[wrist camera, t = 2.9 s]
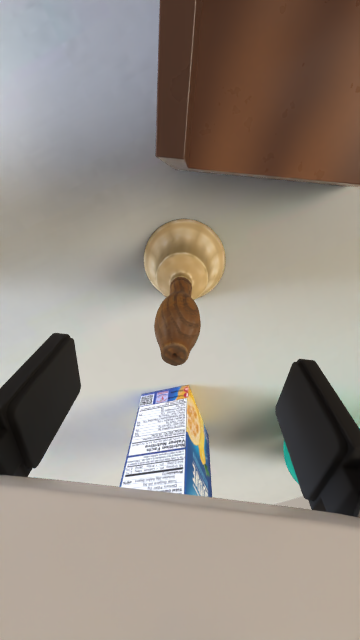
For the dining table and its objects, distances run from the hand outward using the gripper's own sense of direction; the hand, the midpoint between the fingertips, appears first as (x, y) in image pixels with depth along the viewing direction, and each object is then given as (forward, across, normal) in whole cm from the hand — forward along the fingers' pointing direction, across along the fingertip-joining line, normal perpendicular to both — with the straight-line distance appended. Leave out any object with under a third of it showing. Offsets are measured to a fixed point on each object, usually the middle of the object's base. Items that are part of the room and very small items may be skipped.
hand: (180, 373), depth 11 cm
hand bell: (+17, +1, 0) cm, 17 cm away
